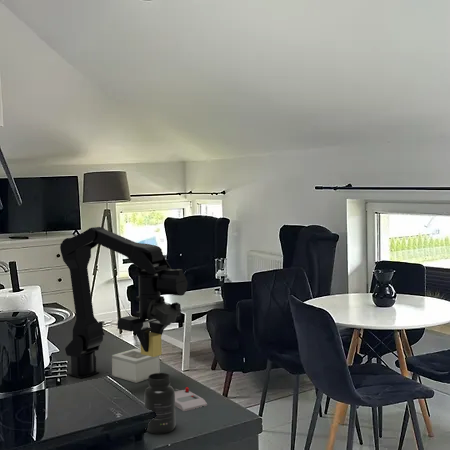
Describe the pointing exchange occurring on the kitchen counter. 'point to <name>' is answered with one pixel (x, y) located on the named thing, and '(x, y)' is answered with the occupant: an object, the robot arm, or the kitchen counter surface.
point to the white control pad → (188, 400)
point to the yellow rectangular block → (153, 345)
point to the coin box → (134, 365)
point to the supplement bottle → (160, 403)
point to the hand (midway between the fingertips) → (151, 350)
